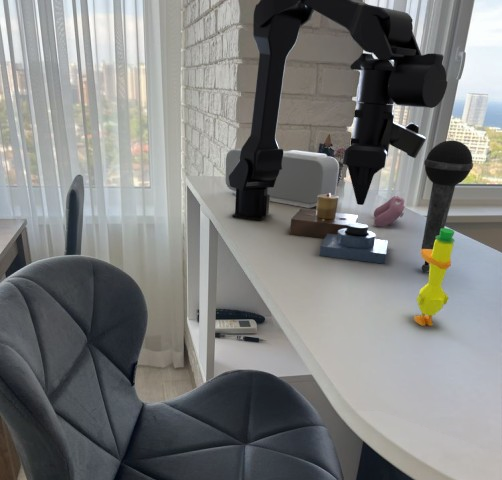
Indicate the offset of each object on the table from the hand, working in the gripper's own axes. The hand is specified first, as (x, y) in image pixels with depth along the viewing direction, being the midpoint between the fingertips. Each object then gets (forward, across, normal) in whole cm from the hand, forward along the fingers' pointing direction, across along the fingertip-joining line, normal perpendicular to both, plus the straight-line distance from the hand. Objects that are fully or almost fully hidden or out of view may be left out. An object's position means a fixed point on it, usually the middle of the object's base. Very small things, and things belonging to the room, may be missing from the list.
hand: (360, 204), depth 86 cm
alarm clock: (+9, +40, +22) cm, 47 cm away
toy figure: (+9, -27, -11) cm, 31 cm away
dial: (+5, +12, +7) cm, 15 cm away
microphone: (+9, -6, -12) cm, 16 cm away
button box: (+8, 0, 0) cm, 8 cm away
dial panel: (+8, +12, +7) cm, 16 cm away
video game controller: (+9, +26, -5) cm, 28 cm away
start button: (+5, 0, 0) cm, 5 cm away
